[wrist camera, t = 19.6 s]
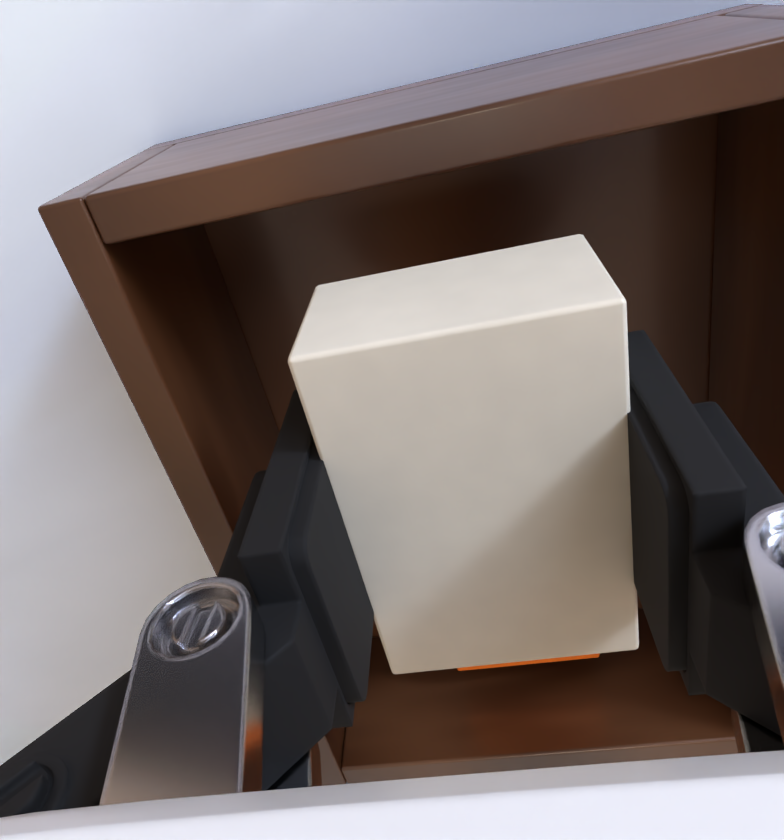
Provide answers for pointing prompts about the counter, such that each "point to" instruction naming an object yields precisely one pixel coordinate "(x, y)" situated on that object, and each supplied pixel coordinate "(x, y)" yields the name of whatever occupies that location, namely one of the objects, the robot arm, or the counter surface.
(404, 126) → the holder
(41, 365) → the counter surface
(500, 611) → the cream rectangular block
